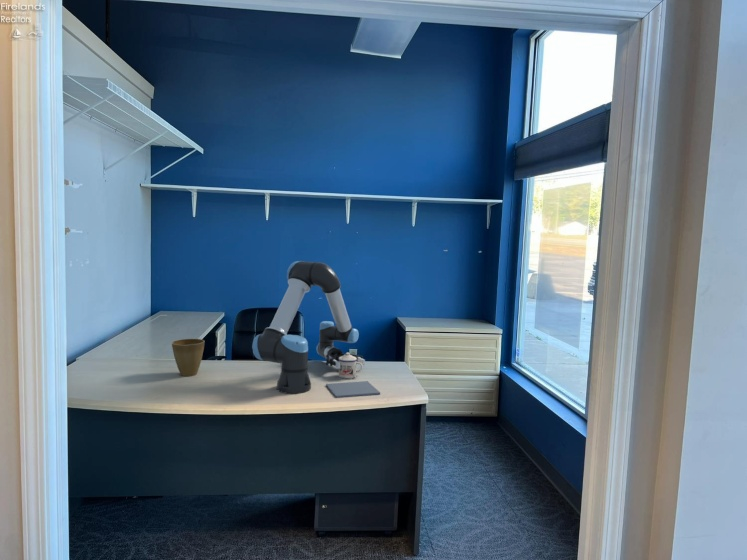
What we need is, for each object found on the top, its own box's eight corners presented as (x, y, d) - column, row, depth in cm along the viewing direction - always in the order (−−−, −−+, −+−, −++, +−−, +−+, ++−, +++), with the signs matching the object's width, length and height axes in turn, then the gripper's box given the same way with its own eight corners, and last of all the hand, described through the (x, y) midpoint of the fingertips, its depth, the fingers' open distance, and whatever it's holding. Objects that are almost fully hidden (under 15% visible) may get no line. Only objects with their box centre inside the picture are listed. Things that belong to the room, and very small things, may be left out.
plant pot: (205, 369, 263) (205, 337, 261) (203, 377, 248) (203, 344, 247) (173, 370, 259) (173, 338, 258) (169, 379, 245) (169, 345, 243)
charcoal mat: (336, 397, 225) (336, 395, 225) (326, 385, 242) (326, 383, 242) (380, 394, 231) (380, 392, 231) (367, 382, 248) (367, 381, 248)
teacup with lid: (336, 378, 254) (336, 354, 253) (339, 373, 263) (340, 350, 262) (360, 379, 253) (361, 356, 252) (363, 374, 262) (364, 351, 261)
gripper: (354, 359, 282) (374, 368, 263) (311, 363, 270) (328, 374, 251) (355, 345, 281) (374, 354, 263) (311, 349, 269) (328, 358, 251)
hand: (352, 364), depth 257 cm, fingers open, 13 cm apart
